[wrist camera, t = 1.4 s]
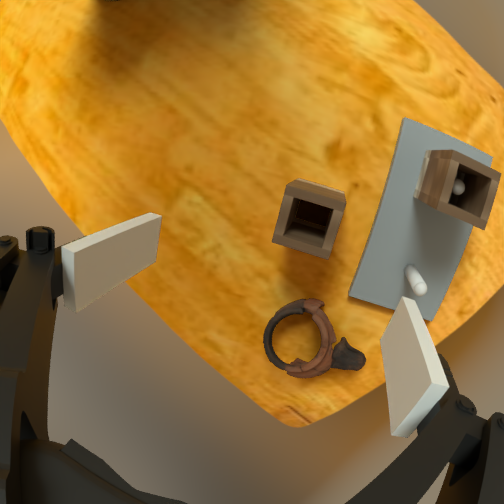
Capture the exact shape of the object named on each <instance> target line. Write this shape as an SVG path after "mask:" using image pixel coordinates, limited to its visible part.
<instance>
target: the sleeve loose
mask: <svg viewBox="0 0 504 504" xmlns="http://www.w3.org/2000/svg"><path fill="white" fill-rule="evenodd" d="M300 199H302V200H305V201H308V202H312V203H315V204H318V205H322V206H325V207H328V208H331V211H330V214H329V217H328V221H327V224H326V227H325V226H322V225H318V224H315V223H312V222H309V221H305V220H302V219H299V218H296V214H297V210H298V206H299V203H300ZM345 206H346V199H345V194H344V192H343V191H340V190H337V189H334V188H330V187H327V186H324V185H320V184H317V183H314V182H310V181H307V180H303V179H300V178H298V179H296V180H294V181H292V182H291V183H289V184H287V185H286V189H285V193H284V197H283V201H282V204H281V208H280V212H279V216H278V220H277V223H276V227H275V231H274V235H273V239H272V242H273V243H276V244H279V245H283V246H286V247H289V248H292V249H295V250H298V251H302V252H305V253H308V254H311V255H314V256H318V257H321V258H324V259H327V260H328V259H329V256H330V253H331V250H332V247H333V244H334V241H335V238H336V235H337V232H338V229H339V225H340V222H341V219H342V216H343V213H344V209H345Z"/></svg>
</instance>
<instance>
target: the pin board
mask: <svg viewBox="0 0 504 504" xmlns="http://www.w3.org/2000/svg"><path fill="white" fill-rule="evenodd" d="M426 150H455V151H457V152H460V153H462V154H464V155H466V156H468V157H470V158H472V159H474V160H476V161H478V162H480V163H482V164H484V165H486V166H488V167H491V162H492V158H493V157H492V156H490V155H488V154H486V153H484V152H482V151H480V150H478V149H476V148H474V147H472V146H470V145H468V144H466V143H464V142H462V141H460V140H458V139H456V138H454V137H451V136H449V135H447V134H445V133H442V132H440V131H438V130H435V129H433V128H431V127H428V126H426V125H423V124H421V123H418V122H416V121H413V120H411V119H408V118H405V117H404V118H403V119H402V123H401V127H400V131H399V135H398V139H397V143H396V147H395V151H394V155H393V158H392V162H391V166H390V169H389V173H388V177H387V180H386V183H385V187H384V190H383V194H382V197H381V200H380V203H379V207H378V210H377V213H376V216H375V219H374V222H373V225H372V228H371V231H370V234H369V237H368V240H367V243H366V246H365V248H364V251H363V254H362V257H361V260H360V262H359V265H358V268H357V270H356V273H355V276H354V278H353V281H352V284H351V286H350V289H349V296H351V297H354V298H358V299H361V300H364V301H367V302H370V303H374V304H377V305H380V306H383V307H386V308H390V309H393V310H396V308H397V306H398V304H399V302H400V300H401V297H402V296H403V297H406V298H409V299H412V300H415V302H416V304H417V306H418V309H419V311H420V313H421V315H422V318H423V319H426V320H429V321H432V320H433V318H434V316H435V315H436V313H437V311H438V309H439V306H440V304H441V302H442V300H443V298H444V296H445V294H446V292H447V290H448V287H449V285H450V283H451V281H452V278H453V276H454V274H455V272H456V269H457V267H458V264H459V262H460V259H461V257H462V254H463V252H464V249H465V247H466V244H467V241H468V239H469V236H470V233H471V230H472V228H473V225H471V224H469V223H466V222H464V221H462V220H460V219H457V218H455V217H452V216H450V215H448V214H445V213H443V212H440V211H438V210H436V209H434V208H432V207H431V206H429V205H427V204H426V203H424V202H422V201H420V200H419V199H417V198H415V197H413V195H414V191H415V188H416V185H417V181H418V178H419V174H420V171H421V167H422V163H423V160H424V156H425V152H426ZM457 175H458V172H457V174H456V177H455V181H454V184H453V188H452V191H451V195H450V198H449V201H448V202H450V199H451V196H452V193H454V194H456V195H460V194H462V193H463V192H464V190H465V185H464V183H463V181H462V180H460V179H456V178H457Z"/></svg>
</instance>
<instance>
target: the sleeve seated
mask: <svg viewBox="0 0 504 504" xmlns="http://www.w3.org/2000/svg"><path fill="white" fill-rule="evenodd" d="M457 172H458V175H457V178H456V179H460V180H462V181H463V183H464V185H465V190H464V192H463V193H462V194H460V195H456V194H454V193H452V196H451V199H450V202H448V201H449V198H450V195H451V191H452V188H453V184H454V181H455V177H456V174H457ZM500 177H501V173H499V172H497V171H496V170H494V169H492V168H490V167H488V166H486V165H484V164H482V163H480V162H478V161H476V160H474V159H472V158H470V157H468V156H466V155H464V154H462V153H460V152H457V151H455V150H426V152H425V156H424V160H423V163H422V167H421V171H420V174H419V178H418V181H417V185H416V188H415V191H414V195H413V197H415V198H417V199H419V200H420V201H422V202H424V203H426V204H427V205H429V206H431V207H432V208H434V209H436V210H438V211H440V212H443V213H445V214H448V215H450V216H452V217H455V218H457V219H460V220H462V221H464V222H466V223H469V224H471V225H473V226H476V227H478V228H480V229H482V230H485V227H486V224H487V221H488V218H489V215H490V212H491V209H492V205H493V202H494V199H495V195H496V192H497V188H498V184H499V181H500Z"/></svg>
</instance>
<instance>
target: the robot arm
mask: <svg viewBox="0 0 504 504" xmlns="http://www.w3.org/2000/svg"><path fill="white" fill-rule="evenodd" d="M105 1H118V0H105ZM161 220H162V216H160V215H157V214H154V213H151V212H150V213H147V214H144V215H141V216H139V217H136V218H133V219H130V220H128V221H125V222H122V223H120V224H117V225H114V226H112V227H109V228H106V229H104V230H101V231H99V232H96V233H94V234H91V235H88V236H84V237H82V238H79V239H78V240H74V241H72V242H69V243H67V244H65V245H62V246H60V247H57V248H55V241H54V239H55V236H54V234H55V233H54V230H53V229H52V228H49V227H44V226H38V227H33V228H30V229H28V230H27V231H26V245H27V251H24V250H20V249H19V246H18V239H17V238H15V237H12V236H8V235H7V236H2V237H0V504H187V503H185V502H182V501H179V500H174V499H169V498H165V497H161V496H157V495H153V494H149V493H145V492H142V491H139V490H136V489H134V488H133V487H131V486H130V485H129V484H128V483H127V482H126V481H125V480H124V479H122V478H121V477H120V476H119V475H118V474H117V473H116V472H115V471H114V470H113V469H112V468H110V466H109V465H108V464H106V463H105V462H104V461H103V460H102V459H101V458H99V457H98V456H96V455H95V454H93V453H91V452H90V451H88V450H87V449H85V448H84V447H83V446H81V445H79V444H78V443H77V442H75V441H74V440H73V439H70V440H69V442H68V443H67V444H66V445H63V444H60V443H57V442H53V441H49V437H48V429H47V411H48V385H49V370H50V359H51V350H52V341H53V333H54V325H55V319H56V313H57V307H58V302H57V297H59V296H60V295H62V294H63V296H64V297H63V298H64V306H65V307H67V308H68V309H70V310H72V311H73V312H75V313H77V312H79V311H80V310H82V309H83V308H85V307H86V306H88V305H89V304H91V303H92V302H94V301H95V300H97V299H98V298H100V297H101V296H103V295H104V294H106V293H107V292H109V291H110V290H112V289H114V288H115V287H117V286H118V285H120V284H121V283H123V282H124V281H126V280H128V279H129V278H131V277H132V276H134V275H135V274H137V273H139V272H140V271H142V270H143V269H145V268H147V267H148V266H150V265H151V264H153V263H154V262H156V255H157V247H158V240H159V233H160V226H161ZM380 343H381V350H382V356H383V363H384V371H385V378H386V387H387V395H388V405H389V415H390V427H391V435H394V436H400V437H405V438H408V437H409V436H410V435H411V434H412V432H413V431H414V430H415V429H416V428H417V433H418V436H417V437H416V439H415V440H414V441H413V442H412V443H411V444H410V445H409V446H408V447H407V448H406V449H405V450H404V451H403V452H402V453H401V454H400V455H399V456H398V457H397V458H396V459H395V460H394V461H393V462H392V463H391V464H390V465H389V466H388V467H387V468H386V469H385V470H384V471H383V472H382V473H380V474H379V475H378V476H377V477H376V478H375V479H374V480H373V481H372V482H370V484H368V485H367V486H366V487H365V488H364V489H362V490H361V491H360V492H359V493H358V494H356V495H355V496H354V497H353V498H351V499H350V500H349V501H348V502H346V503H345V504H417V503H418V502H419V500H420V499H421V498H422V497H423V495H424V494H425V493H426V492H427V490H428V489H429V488H430V486H431V485H432V484H433V482H434V481H435V480H436V478H437V477H438V476H439V474H440V473H441V471H442V470H443V469H444V467H445V466H446V464H447V463H448V462H450V464H449V467H448V470H447V473H446V476H445V479H444V482H443V485H442V488H441V491H440V493H439V496H438V499H437V501H436V504H504V414H502V413H499V412H495V413H494V414H493V415H492V416H491V417H490V418H489V419H488V420H486V419H483V418H481V417H479V416H477V415H476V414H477V411H476V407H475V405H474V404H473V402H471V400H470V399H469V398H467V397H465V396H464V395H460V394H459V391H458V388H457V386H456V383H455V380H454V378H453V375H452V373H451V371H450V367H449V365H448V362H447V361H446V360H445V359H444V357H443V356H442V355H441V354H439V353H437V352H436V349H435V347H434V344H433V342H432V339H431V337H430V334H429V332H428V329H427V327H426V325H425V322H424V320H423V318H422V315H421V313H420V311H419V309H418V306H417V304H416V302H415V300H412V299H409V298H406V297H403V296H402V297H401V300H400V302H399V304H398V306H397V308H396V310H395V312H394V314H393V316H392V318H391V320H390V322H389V324H388V326H387V328H386V330H385V332H384V334H383V336H382V337H381V339H380Z"/></svg>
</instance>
